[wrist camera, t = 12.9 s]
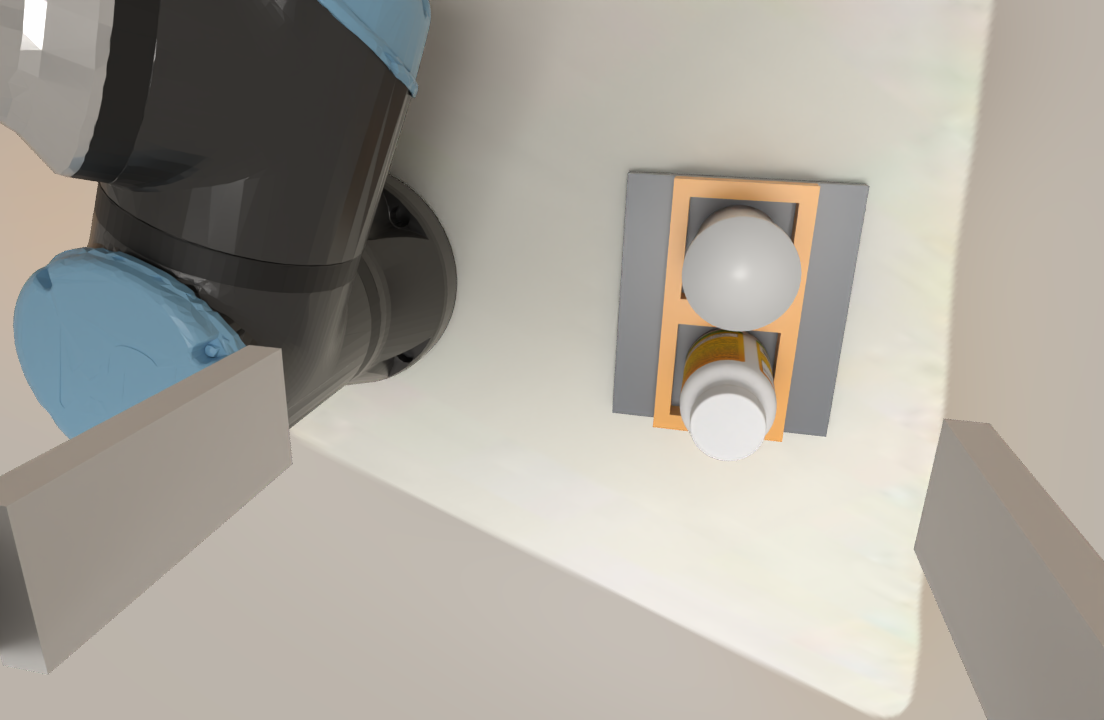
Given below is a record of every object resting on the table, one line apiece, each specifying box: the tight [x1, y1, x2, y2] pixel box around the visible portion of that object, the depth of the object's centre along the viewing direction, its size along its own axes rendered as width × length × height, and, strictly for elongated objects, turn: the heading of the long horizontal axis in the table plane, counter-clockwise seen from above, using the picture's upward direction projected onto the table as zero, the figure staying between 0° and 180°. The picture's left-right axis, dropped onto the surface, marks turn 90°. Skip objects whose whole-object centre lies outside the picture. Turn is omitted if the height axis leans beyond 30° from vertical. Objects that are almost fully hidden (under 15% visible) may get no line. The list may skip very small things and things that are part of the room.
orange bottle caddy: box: [612, 171, 869, 442], centre depth 44 cm, size 14×16×9 cm
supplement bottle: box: [680, 329, 777, 461], centre depth 44 cm, size 5×5×10 cm
